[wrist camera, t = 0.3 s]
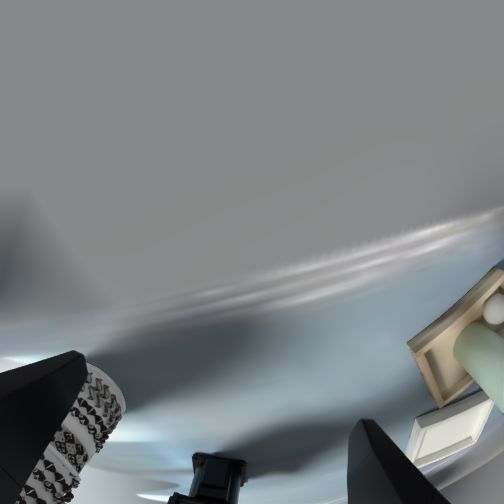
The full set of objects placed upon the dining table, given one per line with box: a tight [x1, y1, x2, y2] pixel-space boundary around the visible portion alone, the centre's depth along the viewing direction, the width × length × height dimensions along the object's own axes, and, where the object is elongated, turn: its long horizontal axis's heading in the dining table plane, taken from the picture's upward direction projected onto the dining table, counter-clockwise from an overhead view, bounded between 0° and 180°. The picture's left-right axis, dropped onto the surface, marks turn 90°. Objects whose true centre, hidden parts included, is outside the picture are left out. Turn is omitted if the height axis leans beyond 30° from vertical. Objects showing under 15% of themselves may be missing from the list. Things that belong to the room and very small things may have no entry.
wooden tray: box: [407, 267, 504, 409], centre depth 21 cm, size 12×10×2 cm
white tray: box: [405, 390, 494, 468], centre depth 23 cm, size 12×10×2 cm
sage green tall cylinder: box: [453, 321, 504, 414], centre depth 16 cm, size 5×5×11 cm
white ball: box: [495, 328, 504, 339], centre depth 19 cm, size 3×3×3 cm
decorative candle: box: [15, 363, 126, 504], centre depth 14 cm, size 9×9×25 cm
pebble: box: [483, 293, 504, 325], centre depth 19 cm, size 3×3×3 cm
